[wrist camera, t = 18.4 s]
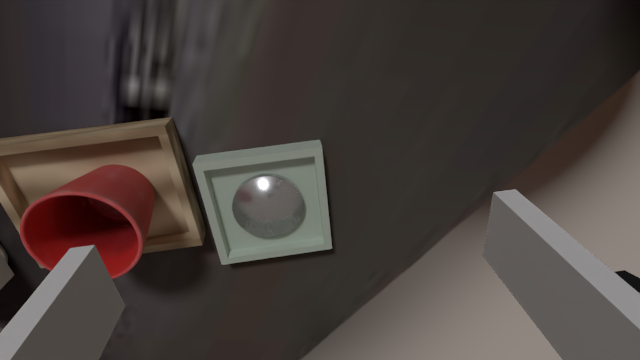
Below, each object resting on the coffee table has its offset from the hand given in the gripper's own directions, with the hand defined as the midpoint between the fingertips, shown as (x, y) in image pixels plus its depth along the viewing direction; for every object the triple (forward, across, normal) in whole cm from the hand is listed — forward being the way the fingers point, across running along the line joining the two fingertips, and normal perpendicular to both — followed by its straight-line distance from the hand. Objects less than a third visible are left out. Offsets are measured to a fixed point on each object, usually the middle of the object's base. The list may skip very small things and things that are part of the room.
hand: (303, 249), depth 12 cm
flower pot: (+30, -22, -12) cm, 39 cm away
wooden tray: (+31, -24, -12) cm, 40 cm away
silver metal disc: (+30, -5, -16) cm, 34 cm away
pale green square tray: (+31, -5, -16) cm, 35 cm away
